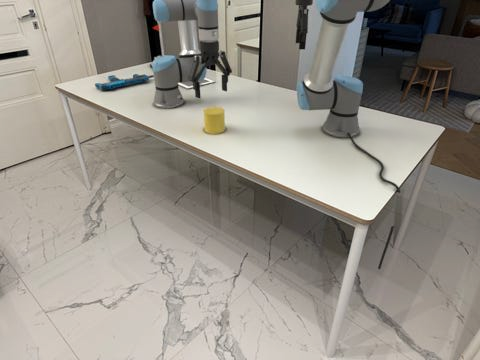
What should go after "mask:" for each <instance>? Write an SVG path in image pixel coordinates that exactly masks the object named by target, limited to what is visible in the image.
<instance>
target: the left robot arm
mask: <svg viewBox="0 0 480 360" xmlns="http://www.w3.org/2000/svg"><path fill="white" fill-rule="evenodd" d="M218 3H219V2H218V0H153V1H152V10H153V11H152V12H153V16H154V20H155V21H156V22H157V21H158V22H162V23H171V22H177V27H178V34H179V42H180V43H179V44H180V52H179V53H178V58H177V57H176V56H175V55H167V56H162V55H161V57H159V58H157V59H153V60H152V63H149V66H150V68H151V69H152V74H153V75H154V77H153V81H154V87H155V91H154V98H153V105H154V106H155V107H156V108H159V109H176V108H178V107H180V106H182V105H183V104H184V97H183V95H182V93H181V90H180V88H179V85H178V83H182V82H193V88H192V89H193V90H194V96H195V98H197V99H201V86H200V82H198V81H200V80H203V79H204V78H206V76H207V69H208V67H210V66H216V67H217V68H218V69H219V71H220V72H221V90H222V91H224V92H228V83H229V76H230V75H231V74H232V73H233V70H232V67H231V66H230V63H229V61H228V59H227V57H226V54H227V53H226V52H225V51H224V50H220V41H219V37H220V35H219V4H218ZM196 21H197V22H196ZM197 23H198V33H197ZM198 40H200V41H199V43H198ZM219 58H220V60H221V61H220V60H219ZM221 62H222V63H221Z"/></svg>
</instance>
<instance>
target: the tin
mask: <svg viewBox="0 0 480 360" xmlns="http://www.w3.org/2000/svg"><path fill="white" fill-rule="evenodd" d="M225 116H226V115H225V109H224V108H223V107H220V106H209V107H206V108H204V109H203V123H204V132H206V133H207V134H210V135H211V134H212V135H218V134H222V133H224V132H225V131H226V123H225V122H226V120H225Z"/></svg>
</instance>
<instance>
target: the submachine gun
mask: <svg viewBox="0 0 480 360" xmlns="http://www.w3.org/2000/svg"><path fill="white" fill-rule="evenodd" d="M107 77H108V80H109V82H103V83H100V82H96V83H94V86H95V88H97V89H98V90H100V91H107V90H113V91H114V90H115V89H116V88H120V87H125V86H129V85H134V84H138V83H139V84H140V83H145V82H146V83H147V81H148V80H150V79H151V78H154V74H151V75H147V74H138V73H134V74H133V75H132V77H129V78H121V79H120V78H118V77H117V76H116V75H113V74H112V75H108V76H107Z"/></svg>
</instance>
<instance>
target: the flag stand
mask: <svg viewBox="0 0 480 360" xmlns="http://www.w3.org/2000/svg"><path fill="white" fill-rule="evenodd" d="M156 22H157V24H156V25H155V26H153V27H152V29H154V30H156V31H157V32H159V40H160V48H161V55H157V56H154V57H153V60H155V59H157V58H159V57H162V56H168V54H167V55H165V48H164V39H163V31H162V23H163V22H158V21H156Z"/></svg>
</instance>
